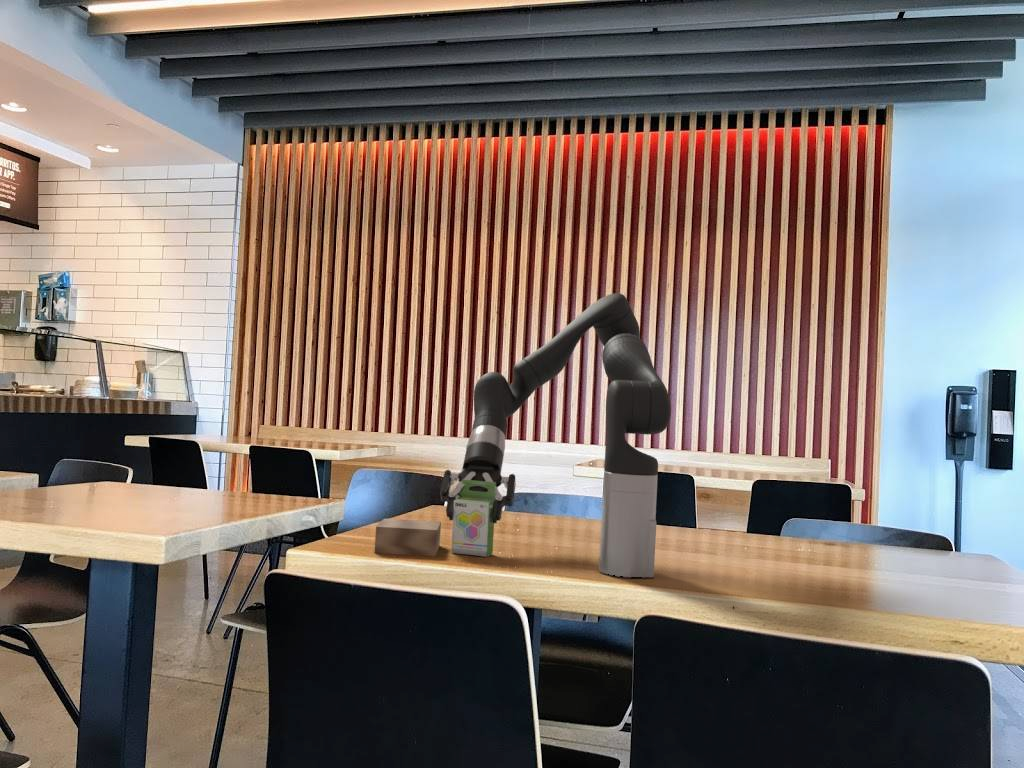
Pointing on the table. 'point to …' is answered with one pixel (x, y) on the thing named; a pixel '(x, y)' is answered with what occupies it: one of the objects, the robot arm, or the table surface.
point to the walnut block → (408, 537)
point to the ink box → (474, 520)
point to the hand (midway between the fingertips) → (472, 519)
